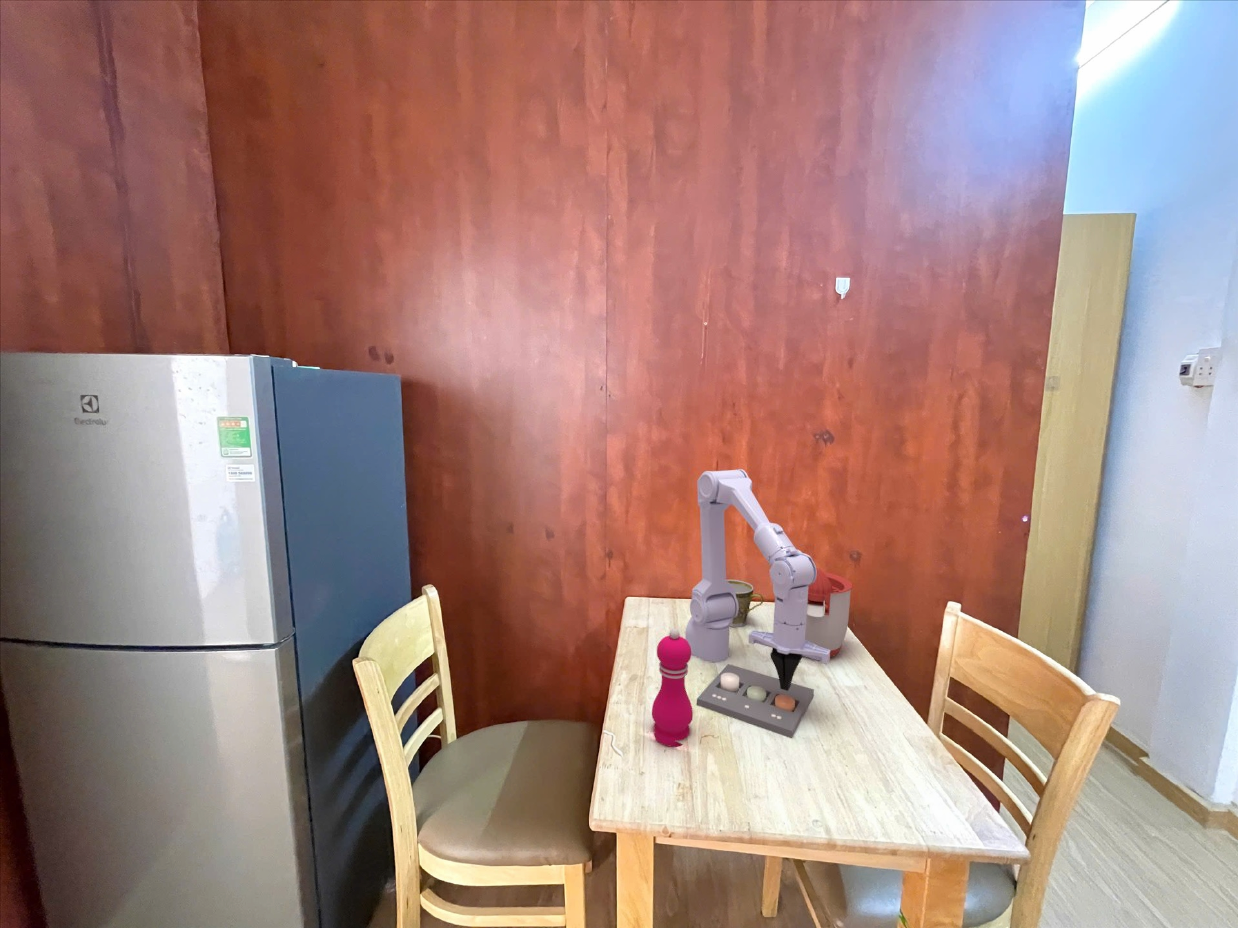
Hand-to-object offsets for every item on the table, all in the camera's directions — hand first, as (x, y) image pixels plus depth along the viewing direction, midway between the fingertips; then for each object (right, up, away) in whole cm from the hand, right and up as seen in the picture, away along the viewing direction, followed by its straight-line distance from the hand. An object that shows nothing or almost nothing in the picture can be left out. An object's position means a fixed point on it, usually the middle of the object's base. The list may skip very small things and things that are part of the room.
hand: (785, 687), depth 102 cm
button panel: (-5, -5, +4) cm, 8 cm away
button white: (-9, -3, +6) cm, 12 cm away
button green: (-5, -5, +4) cm, 8 cm away
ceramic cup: (0, 0, +41) cm, 41 cm away
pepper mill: (-22, -6, -6) cm, 24 cm away
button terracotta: (0, -6, +1) cm, 6 cm away
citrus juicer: (+15, -2, +27) cm, 31 cm away
